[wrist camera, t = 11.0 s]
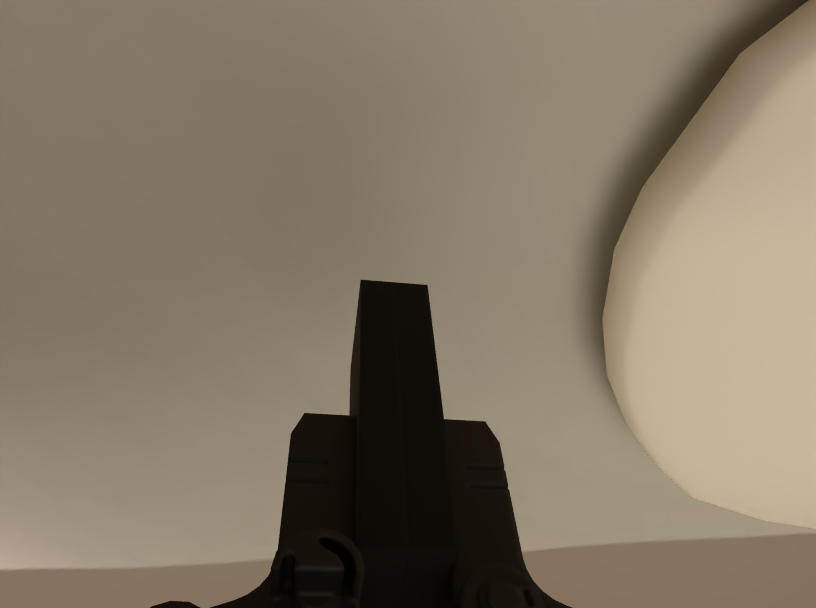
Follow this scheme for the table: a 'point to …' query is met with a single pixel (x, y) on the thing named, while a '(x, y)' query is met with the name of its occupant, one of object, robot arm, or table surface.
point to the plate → (728, 290)
